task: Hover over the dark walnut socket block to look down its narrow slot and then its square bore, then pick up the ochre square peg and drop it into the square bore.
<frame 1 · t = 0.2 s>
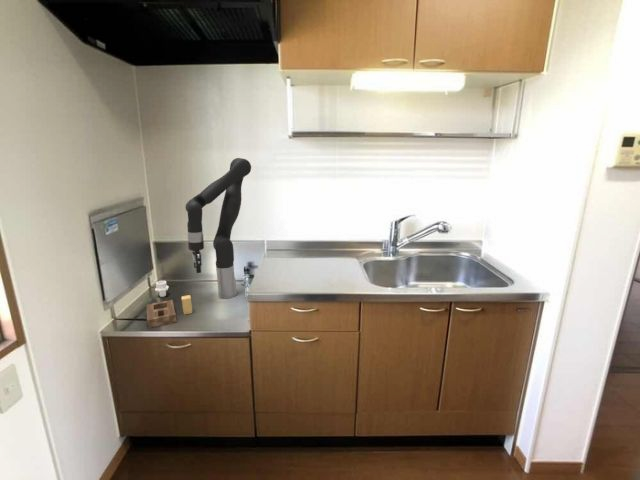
hand: (197, 270, 182), 17 cm above the counter, tool pointing down, fingers open, 8 cm apart
pipe fitting: (162, 296, 193), on the counter
square peg: (187, 312, 174), on the counter
socket block: (161, 316, 169), on the counter
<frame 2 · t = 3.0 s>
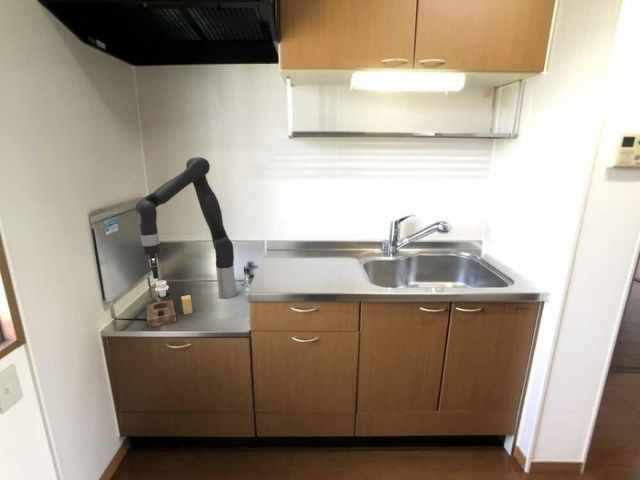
hand: (155, 275, 168), 20 cm above the counter, tool pointing down, fingers open, 8 cm apart
nothing on the counter moved.
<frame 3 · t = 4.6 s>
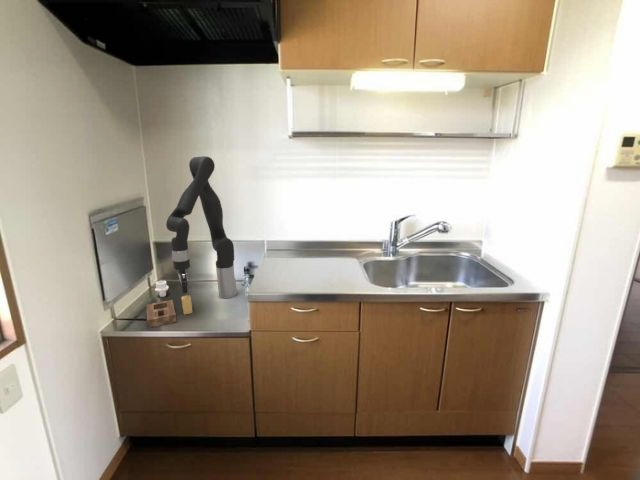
hand: (184, 289, 171), 12 cm above the counter, tool pointing down, fingers open, 8 cm apart
nothing on the counter moved.
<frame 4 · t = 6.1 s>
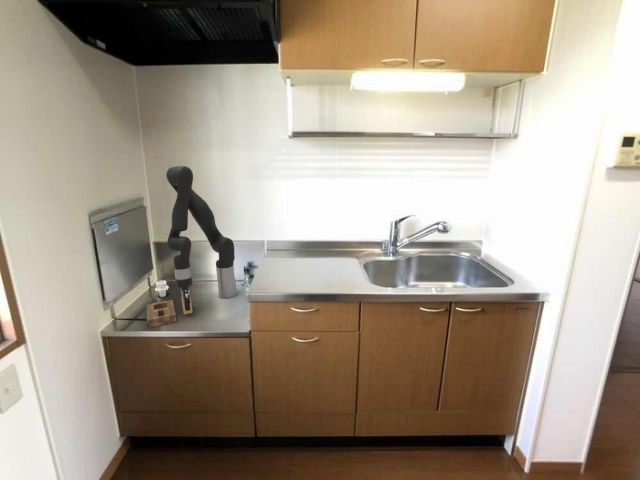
hand: (187, 308, 174), 2 cm above the counter, tool pointing down, fingers closed on square peg, 4 cm apart
square peg: (187, 312, 174), on the counter, touching gripper
everything else where it was.
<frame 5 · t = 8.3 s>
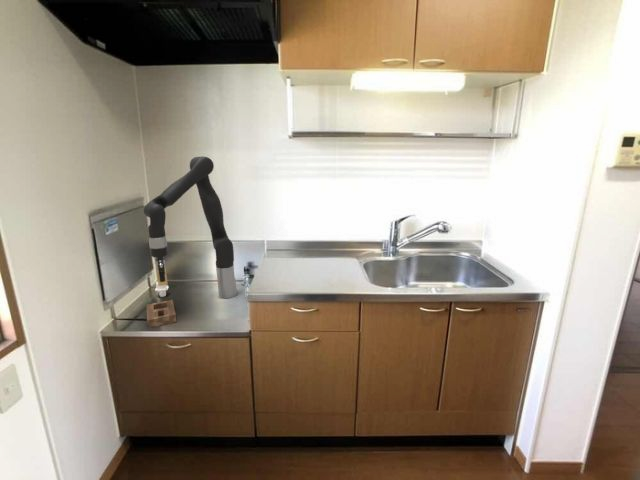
hand: (162, 279, 168), 18 cm above the counter, tool pointing down, fingers closed on square peg, 4 cm apart
square peg: (162, 283, 169), point 16 cm above the counter, touching gripper
everything else where it was.
when the fingers open (5 cm above the counter, at t = 10.8 s): square peg drops 3 cm, resting in socket block.
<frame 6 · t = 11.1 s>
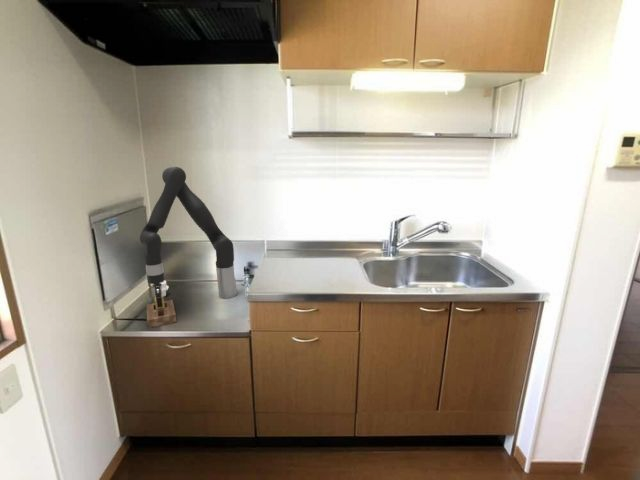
hand: (159, 303, 172), 5 cm above the counter, tool pointing down, fingers open, 6 cm apart
square peg: (161, 313, 173), resting in socket block
everything else where it was.
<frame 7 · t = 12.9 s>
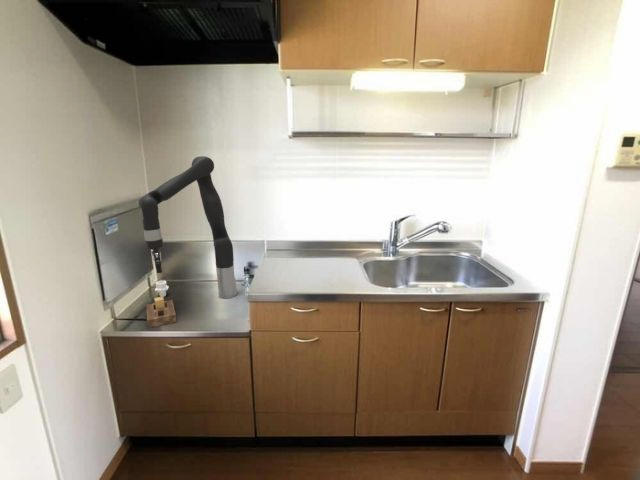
hand: (158, 270, 170), 22 cm above the counter, tool pointing down, fingers open, 8 cm apart
nothing on the counter moved.
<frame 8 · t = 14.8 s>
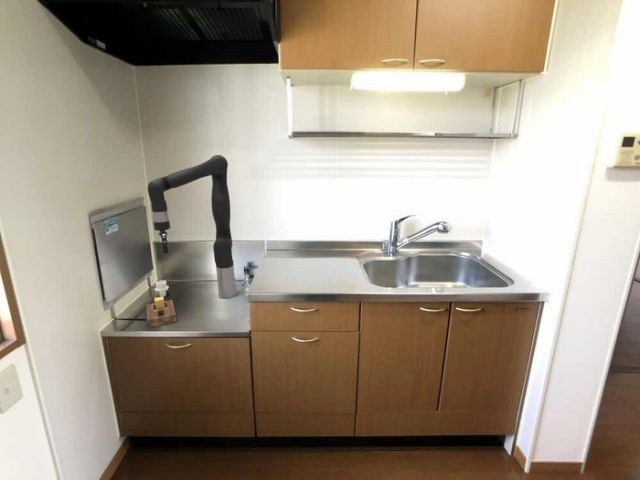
hand: (165, 250, 179), 28 cm above the counter, tool pointing down, fingers open, 8 cm apart
nothing on the counter moved.
at the end: square peg 0.1 cm from the target spot on the socket block, point 0.0 cm above the socket block's base; square peg tilted 0°; the gripper is holding nothing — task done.
